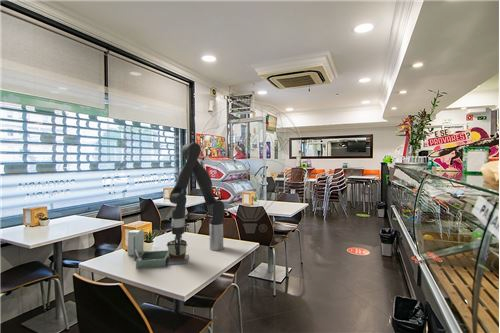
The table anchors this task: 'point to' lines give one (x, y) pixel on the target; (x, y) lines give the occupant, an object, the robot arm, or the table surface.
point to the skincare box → (132, 241)
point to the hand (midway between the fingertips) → (178, 253)
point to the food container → (173, 251)
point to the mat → (178, 261)
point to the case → (148, 254)
